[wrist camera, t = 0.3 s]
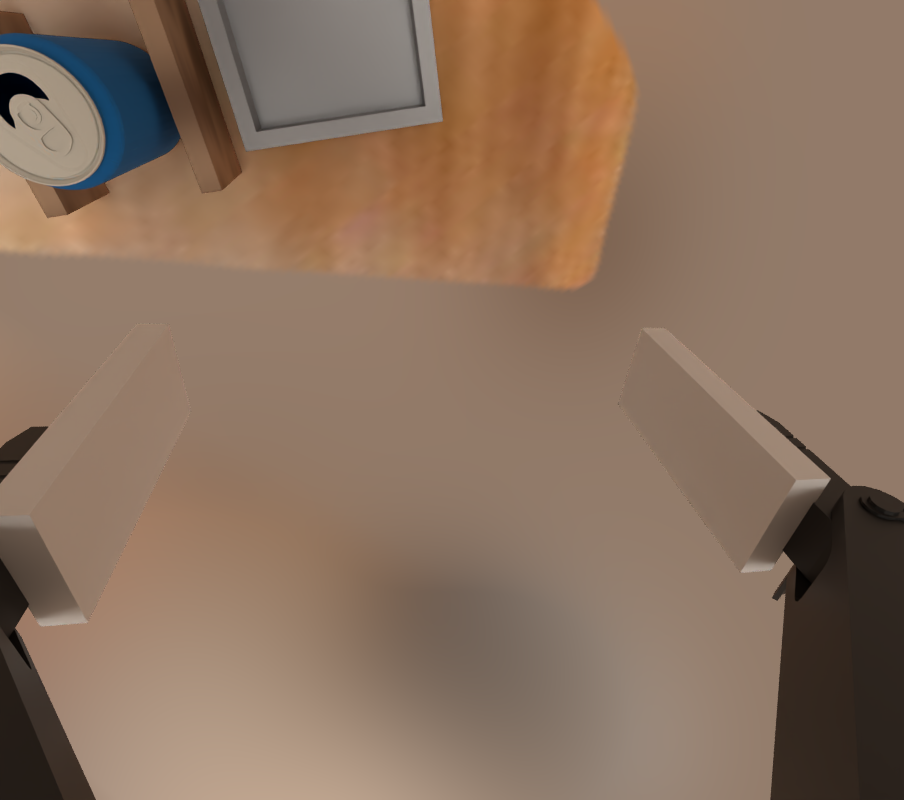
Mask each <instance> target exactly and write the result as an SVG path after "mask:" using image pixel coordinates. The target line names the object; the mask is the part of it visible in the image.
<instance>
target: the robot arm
mask: <svg viewBox="0 0 904 800" xmlns="http://www.w3.org/2000/svg"><path fill="white" fill-rule="evenodd" d="M618 405H619V406H620V407H621V409H622V410H623V412H624V413H625V414H626V416H627V417H628V419H629V420H630V421H631V423H632V424H633V425H634V427H635V428H636V430H637V431H638V432H639V434H640V435H641V437H642V438H643V439H644V441H645V442H646V443H647V445H648V446H649V447H650V449H651V450H652V452H653V453H654V455H655V456H656V457H657V458H658V460H659V461H660V463H661V464H662V466H663V467H664V468H665V470H666V471H667V472H668V474H669V475H670V477H671V478H672V479H673V481H674V482H675V483H676V485H677V486H678V488H679V489H680V490H681V492H682V493H683V494H684V496H685V497H686V498H687V500H688V501H689V503H690V504H691V505H692V507H693V508H694V510H695V511H696V512H697V514H698V515H699V516H700V518H701V519H702V521H703V522H704V523H705V525H706V526H707V528H708V529H709V530H710V531H711V533H712V534H713V536H714V537H715V539H716V540H717V541H718V543H719V544H720V545H721V547H722V548H723V550H724V551H725V552H726V554H727V555H728V556H729V558H730V559H731V561H732V562H733V563H734V565H735V566H736V568H737V569H738V570H739V572H742V573H743V572H754V571H769V570H771V569H772V568H773V566H774V565H775V563H776V562H777V560H778V559H779V557H780V556H781V554H782V552H783V551H784V552H785V554H786V555H787V556H788V557H789V558H790V560H791V561H792V562H793V563H794V565H793V566H792V568H791V569H790V571H789V572H788V574H787V575H786V576H785V578H784V579H783V581H782V582H781V584H780V585H779V587H778V588H777V590H776V591H775V593H774V595H773V597H772V598H773V599H775V600H778V599H779V598H780V596H781V595H782V594H785V593H786V595H785V596H786V597H785V610H784V623H783V636H782V650H781V663H780V677H779V691H778V704H777V705H778V706H777V718H776V731H775V745H774V758H773V772H772V787H771V800H904V503H903V502H901V501H900V500H898V499H897V498H895V497H893V496H891V495H889V494H887V493H884V492H882V491H880V490H877V489H873V488H869V487H866V486H850V485H849V484H847V483H846V482H845V481H844V480H843V479H842V478H841V477H840V476H838V475H837V474H836V473H835V472H834V471H833V470H832V469H831V468H829V467H828V466H827V465H826V464H825V463H824V462H823V461H822V460H820V459H819V458H818V457H817V456H816V455H815V454H814V453H813V452H811V451H810V450H808V449H806V446H804V444H802V443H801V442H800V441H799V440H798V439H797V438H793V435H792V434H791V433H790V432H789V431H788V430H786V429H785V428H784V427H783V426H782V425H781V424H780V423H779V422H777V421H775V420H774V419H772V418H770V417H768V416H767V415H765V414H763V413H761V412H759V411H756V410H755V409H754V408H753V407H752V406H751V405H749V404H748V403H747V402H746V401H745V400H744V399H743V398H742V397H740V396H739V395H738V394H737V393H736V392H735V391H734V390H733V389H732V388H731V387H729V386H728V385H727V384H726V383H725V382H724V381H723V380H722V379H721V378H720V377H719V376H717V375H716V374H715V373H714V372H713V371H712V370H711V369H710V368H708V366H706V365H705V364H704V363H703V362H702V361H701V360H700V359H699V358H698V357H697V356H695V355H694V354H693V353H692V352H691V351H690V350H689V349H688V348H687V347H686V346H684V345H683V344H682V343H681V342H680V341H679V340H678V339H677V338H676V337H674V336H673V335H672V334H671V333H670V332H669V331H668V330H667V329H666V328H641V331H640V335H639V338H638V341H637V344H636V348H635V351H634V354H633V357H632V360H631V364H630V367H629V370H628V373H627V376H626V380H625V383H624V386H623V389H622V393H621V396H620V399H619V402H618ZM190 413H191V409H190V405H189V401H188V397H187V393H186V389H185V385H184V381H183V377H182V373H181V369H180V365H179V361H178V357H177V354H176V350H175V345H174V342H173V338H172V334H171V330H170V326H169V324H136V325H135V326H134V327H133V329H132V330H131V331H130V332H129V333H128V335H127V336H126V337H125V338H124V339H123V340H122V342H121V343H120V344H119V345H118V346H117V347H116V349H115V350H114V351H113V352H112V353H111V355H110V356H109V357H108V358H107V359H106V360H105V361H104V363H103V364H102V365H101V366H100V367H99V369H98V370H97V371H96V372H95V373H94V374H93V376H92V377H91V378H90V379H89V380H88V381H87V383H86V384H85V385H84V386H83V387H82V388H81V390H80V391H79V392H78V393H77V394H76V395H75V397H74V398H73V399H72V400H71V401H70V402H69V404H68V405H67V406H66V407H65V408H64V410H63V411H62V412H61V413H60V414H59V415H58V417H57V418H56V419H55V420H54V421H53V423H52V424H51V425H50V426H49V427H30V428H29V429H27V430H26V431H24V432H23V433H21V434H19V435H17V436H16V437H14V438H13V439H11V440H9V441H8V442H6V443H5V444H4V445H3V446H2V447H1V448H0V800H96V799H95V797H94V795H93V792H92V790H91V788H90V786H89V784H88V781H87V779H86V777H85V775H84V773H83V770H82V768H81V766H80V764H79V762H78V760H77V758H76V755H75V753H74V751H73V749H72V746H71V744H70V742H69V740H68V738H67V736H66V733H65V731H64V729H63V727H62V725H61V722H60V720H59V718H58V716H57V714H56V711H55V709H54V707H53V705H52V703H51V701H50V698H49V697H48V695H47V692H46V690H45V687H44V685H43V683H42V681H41V679H40V677H39V674H38V672H37V670H36V668H35V666H34V663H33V661H32V659H31V657H30V655H29V653H28V651H27V648H26V646H25V644H24V642H23V639H22V637H21V636H20V635H19V633H18V631H17V630H16V629H15V627H16V625H17V624H18V622H19V620H20V619H21V617H22V615H23V614H24V612H25V610H26V609H27V607H28V608H29V609H30V611H31V612H32V614H33V616H34V617H35V619H36V620H37V622H38V623H39V625H40V626H52V625H66V624H79V623H88V621H89V619H90V617H91V615H92V613H93V611H94V609H95V607H96V605H97V603H98V601H99V599H100V597H101V595H102V593H103V591H104V589H105V587H106V585H107V583H108V580H109V578H110V576H111V574H112V572H113V570H114V568H115V566H116V564H117V562H118V560H119V558H120V556H121V554H122V552H123V550H124V548H125V546H126V544H127V542H128V540H129V537H130V535H131V533H132V531H133V529H134V527H135V525H136V523H137V521H138V519H139V517H140V515H141V513H142V511H143V509H144V507H145V505H146V502H147V501H148V499H149V496H150V495H151V493H152V491H153V488H154V486H155V484H156V482H157V480H158V478H159V476H160V474H161V472H162V470H163V468H164V466H165V464H166V462H167V460H168V458H169V456H170V454H171V452H172V450H173V447H174V445H175V444H176V441H177V439H178V437H179V435H180V433H181V431H182V429H183V427H184V425H185V423H186V421H187V419H188V417H189V415H190Z"/></svg>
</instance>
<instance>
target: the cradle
mask: <svg viewBox="0 0 904 800" xmlns="http://www.w3.org/2000/svg"><path fill="white" fill-rule="evenodd" d="M128 1H129V3H130V6H131V8H132V11H133V14H134V16H135V19H136V22H137V24H138V27H139V29H140V32H141V35H142V37H143V40H144V43H145V45H146V48H147V50H148V53H149V56H150V58H151V61H152V63H153V66H154V69H155V71H156V74H157V77H158V79H159V82H160V84H161V87H162V90H163V92H164V95H165V98H166V100H167V103H168V105H169V108H170V111H171V113H172V116H173V119H174V121H175V124H176V126H177V129H178V132H179V134H180V137H181V140H182V142H183V145H184V147H185V150H186V153H187V155H188V158H189V161H190V163H191V166H192V168H193V171H194V174H195V176H196V179H197V181H198V184H199V187H200V189H201V192H202V193H209V192H215V191H221V190H223V189H224V188H225V187H226V186H227V185H228V184H230V183H231V182H232V181H233V180H234V179H235V178H236V177H237V176H238V175H240V174H241V173H242V172H241V169H240V166H239V163H238V159H237V156H236V153H235V150H234V147H233V144H232V141H231V138H230V135H229V132H228V129H227V126H226V123H225V120H224V117H223V114H222V111H221V108H220V105H219V102H218V99H217V96H216V93H215V90H214V87H213V84H212V81H211V78H210V75H209V72H208V69H207V66H206V63H205V60H204V57H203V54H202V51H201V48H200V45H199V42H198V39H197V36H196V33H195V30H194V27H193V24H192V21H191V18H190V15H189V12H188V9H187V6H186V3H185V0H128ZM6 33H25V34H33V33H32V31H31V29H30V27H29V25H28V23H27V21H26V19H25V16H24V14H19V13H11V12H4V11H0V35H1V34H6ZM26 181H27V183H28V184H29V186H30V188H31V190H32V192H33V193H34V195H35V197H36V199H37V201H38V202H39V204H40V206H41V208H42V209H43V211H44V213H45V215H46V217H47V218H50V217H56V216H62V215H68V214H70V213H72V212H74V211H76V210H78V209H80V208H81V207H83V206H85V205H87V204H89V203H91V202H93V201H95V200H97V199H99V198H101V197H103V196H105V195H107V194H108V193H109V191H108V189H107V187H106V185H105V183H102V184H100V185H98V186H95V187H92V188H88V189H82V190H66V189H59V188H54V187H51V186H47V185H43V184H39V183H35V182H33V181H30V180H27V179H26Z"/></svg>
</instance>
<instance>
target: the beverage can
mask: <svg viewBox="0 0 904 800" xmlns="http://www.w3.org/2000/svg"><path fill="white" fill-rule="evenodd" d="M179 139H180V134H179V132H178V129H177V126H176V124H175V121H174V119H173V116H172V113H171V111H170V108H169V105H168V103H167V100H166V98H165V95H164V92H163V90H162V87H161V84H160V82H159V79H158V77H157V74H156V71H155V69H154V66H153V63H152V61H151V58H150V56H149V54H148V53H146V52H145V51H143V50H141V49H140V48H138V47H135V46H133V45H131V44H128V43H125V42H121V41H115V40H102V39H89V38H76V37H63V36H51V35H38V34H25V33H6V34H1V35H0V164H1V165H3V166H4V167H5V168H7V169H8V170H10V171H12V172H13V173H15V174H17V175H19V176H21V177H23V178H25V179H27V180H30V181H33V182H35V183H39V184H43V185H47V186H51V187H54V188H59V189H66V190H82V189H88V188H92V187H95V186H98V185H100V184H102V183H104V182H107V181H109V180H111V179H113V178H115V177H117V176H119V175H122V174H124V173H126V172H128V171H130V170H132V169H134V168H136V167H139V166H141V165H143V164H145V163H147V162H149V161H151V160H154V159H156V158H158V157H160V156H162V155H164V154H166V153H167V152H169V151H170V150H171V149H173V148H174V147H175V145H176V144H177V143H178V141H179Z"/></svg>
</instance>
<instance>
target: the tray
mask: <svg viewBox="0 0 904 800" xmlns="http://www.w3.org/2000/svg"><path fill="white" fill-rule="evenodd" d="M198 3H199V7H200V10H201V13H202V16H203V19H204V22H205V25H206V28H207V32H208V35H209V38H210V41H211V44H212V47H213V50H214V53H215V57H216V60H217V63H218V66H219V69H220V72H221V75H222V78H223V82H224V85H225V88H226V91H227V94H228V97H229V100H230V103H231V106H232V110H233V113H234V116H235V119H236V122H237V125H238V128H239V131H240V135H241V138H242V141H243V144H244V147H245V150H246V152H247V151H253V150H260V149H266V148H273V147H279V146H286V145H292V144H299V143H305V142H312V141H318V140H325V139H331V138H338V137H344V136H351V135H357V134H364V133H370V132H377V131H383V130H390V129H396V128H403V127H409V126H416V125H422V124H429V123H435V122H442V121H443V117H442V109H441V100H440V91H439V83H438V74H437V65H436V57H435V48H434V39H433V31H432V22H431V13H430V5H429V0H198Z"/></svg>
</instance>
